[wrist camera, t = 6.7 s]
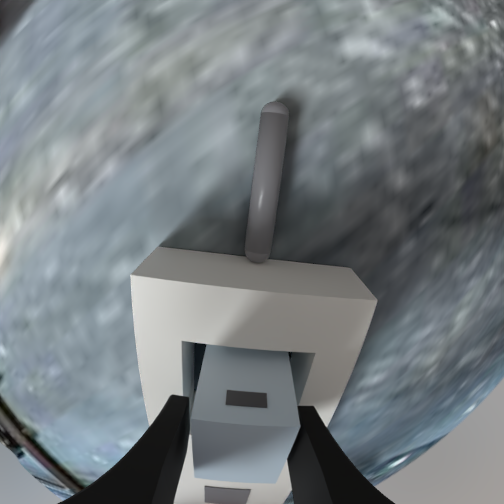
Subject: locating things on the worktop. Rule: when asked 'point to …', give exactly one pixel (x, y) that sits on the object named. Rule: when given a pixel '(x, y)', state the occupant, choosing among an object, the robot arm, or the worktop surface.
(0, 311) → the worktop surface
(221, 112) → the worktop surface
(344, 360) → the power strip
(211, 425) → the block
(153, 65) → the worktop surface
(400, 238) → the worktop surface
